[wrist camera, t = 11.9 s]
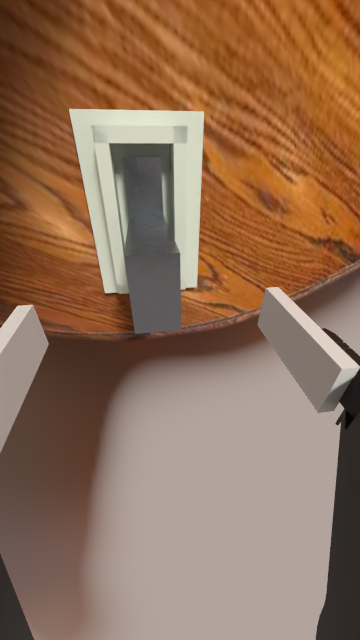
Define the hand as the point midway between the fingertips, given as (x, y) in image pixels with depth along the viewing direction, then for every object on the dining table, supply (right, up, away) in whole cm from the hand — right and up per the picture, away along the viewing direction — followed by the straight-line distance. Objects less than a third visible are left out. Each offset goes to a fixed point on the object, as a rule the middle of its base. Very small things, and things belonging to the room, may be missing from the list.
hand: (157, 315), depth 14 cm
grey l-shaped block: (-2, +11, +13) cm, 17 cm away
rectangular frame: (-3, +12, +13) cm, 18 cm away
